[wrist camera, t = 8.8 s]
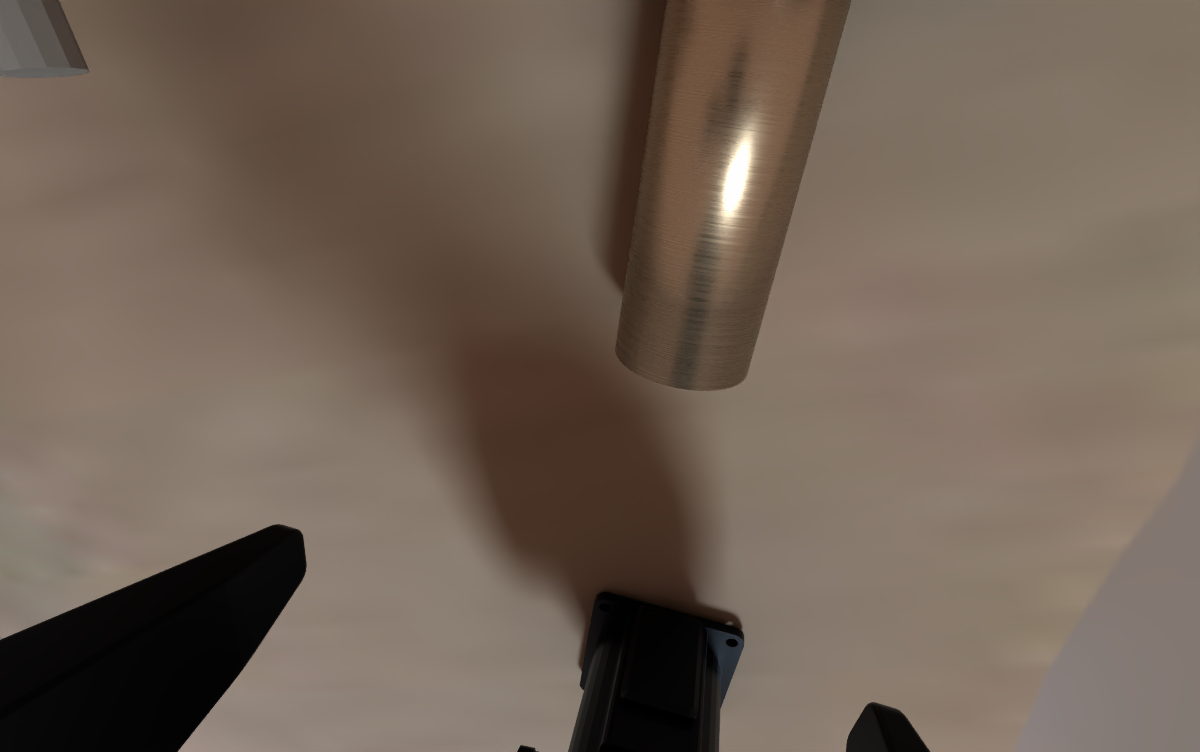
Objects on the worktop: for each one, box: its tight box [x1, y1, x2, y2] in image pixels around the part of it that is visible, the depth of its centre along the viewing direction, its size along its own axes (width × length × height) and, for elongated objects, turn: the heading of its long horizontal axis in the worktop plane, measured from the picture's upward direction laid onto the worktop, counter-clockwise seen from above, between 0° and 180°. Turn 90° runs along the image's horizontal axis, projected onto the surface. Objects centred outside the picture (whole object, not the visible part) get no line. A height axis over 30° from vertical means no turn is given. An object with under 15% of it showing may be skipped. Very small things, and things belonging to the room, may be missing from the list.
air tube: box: [615, 0, 851, 391], centre depth 13 cm, size 16×4×4 cm, turn 173°
